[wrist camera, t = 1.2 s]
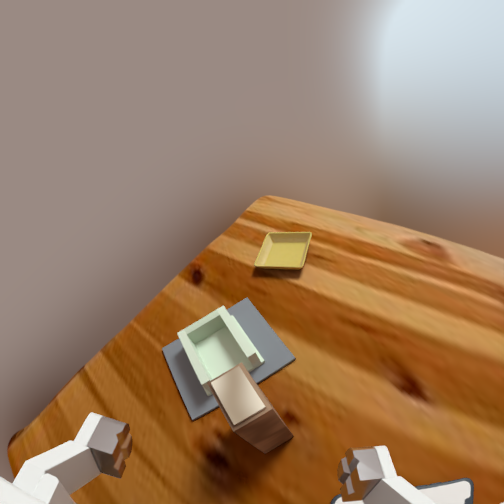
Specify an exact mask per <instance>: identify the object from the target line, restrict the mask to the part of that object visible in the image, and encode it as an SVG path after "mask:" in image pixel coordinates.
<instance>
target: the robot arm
mask: <svg viewBox="0 0 504 504" xmlns="http://www.w3.org/2000/svg"><path fill="white" fill-rule="evenodd" d="M129 431H130V427H129V424H127V423H124V422H120V421H117V420H114V419H111V418H107V417H104V416H102V415H99V414H95V413H92V412H91V413H90V414H89V415H88V416H87V418H86V420H85V422H84V424H83V425H82V427H81V429H80V431H79V432H78V434H77V436H76V438H75V440H74V441H71V440H70V441H68V442H66V443H64V444H62V445H60V446H57V447H55V448H53V449H51V450H49V451H47V452H45V453H43V454H40V455H38V456H36V457H34V458H32V459H29V460H27V461H26V462H25V463H24V465H23V467H22V468H21V470H20V472H19V473H18V475H17V477H16V478H15V480H14V482H13V484H12V483H10V482H8V481H7V480H5V479H4V478H2V477H1V476H0V504H76V503H75V502H74V501H73V499H72V498H71V497H70V494H72V493H73V492H75V491H76V490H78V489H79V488H81V487H82V486H84V485H85V484H87V483H88V482H89V481H91V480H92V479H94V478H95V477H97V476H98V475H99V474H101V473H104V474H107V475H110V476H114V477H117V478H121V477H122V475H123V472H124V470H125V467H126V465H125V461H124V460H125V459H127V458H129V456H130V453H131V450H132V436H131V435H130V434H129ZM345 455H346V457H345V458H343V459H341V461H340V463H339V465H338V480H339V481H340V482H341V483H342V484H343V485H342V487H341V488H340V491H341V497H342V502H350V501H361V500H363V501H362V502H363V503H364V504H436V503H435V502H434V501H432V500H431V499H430V498H428V497H427V496H426V495H424V494H423V493H422V492H420V491H419V490H418V489H416V488H415V487H414V486H412V485H411V484H410V483H409V482H407V481H406V480H405V479H403V478H402V477H401V476H397V474H396V472H395V469H394V466H393V463H392V460H391V457H390V454H389V452H388V449H387V447H386V446H375V447H372V446H371V447H359V448H349V449H348V450H347V451H346V453H345ZM100 472H101V473H100ZM500 504H504V502H503V503H500Z"/></svg>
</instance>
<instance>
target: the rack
mask: <svg viewBox="0 0 504 504" xmlns="http://www.w3.org/2000/svg"><path fill="white" fill-rule="evenodd" d="M177 334H178V336H179V338H180V340H181V343H182V345H183V347H184V349H185V351H186V354H187V356H188V358H189V360H190V362H191V364H192V366H193V368H194V370H195V373H196V375H197V377H198V379H199V381H200V383H201V385H202V386H203V388H204V390H205V392H206V394H207V395H208V396H210V395H212V392H211V390H210V388H209V386H208V384H207V383H208V382H209V381H211V380H213V379H214V378H216V377H218V376H220V375H221V374H223V373H225V372H226V371H228V370H230V369H231V368H233V367H235V366H236V365H238V364H240V363H241V362H242V363H243V365H244V366H245V368H246V369H247V371H248V372H251V371H252V370H254V369H255V368H257V367H259V366H260V365H262V364H263V363H265V360H264V359H263V358H262V356H261V355H260V353H259V352H258V351H257V349H256V348H255V346H254V345H253V343H252V342H251V341H250V339H249V338H248V336H247V335H246V333H245V332H244V331H243V329H242V328H241V326H240V325H239V323H238V322H237V320H236V319H235V317H234V316H233V315H231V316H230V314H229V313H228V311H227V310H226V308H225V307H224V305H223V306H222V307H220V308H218V309H217V310H215V311H213V312H212V313H210V314H208V315H207V316H205V317H203V318H202V319H200V320H198V321H197V322H195V323H193V324H192V325H190V326H188V327H187V328H185V329H183V330H182V331H180V332H178V333H177Z"/></svg>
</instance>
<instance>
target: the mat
mask: <svg viewBox="0 0 504 504" xmlns="http://www.w3.org/2000/svg"><path fill="white" fill-rule="evenodd" d="M227 311H228V313H229V314H230V316H231V315H233V316H234V317H235V319H236V320H237V322H238V323H239V325H240V326H241V328H242V329H243V331H244V332H245V333H246V335H247V336H248V338H249V339H250V341H251V342H252V343H253V345H254V346H255V348H256V349H257V351H258V352H259V353H260V355H261V356H262V358H263V359H264V360H265V363H263V364H262V365H260V366H259V367H257V368H255V369H254V370H252V371H251V372H249V374H250V375H251V376H252V378H253V379H254V381H255V382H256V383H257V384H258V383H260V382H261V381H263V380H265V379H266V378H268V377H269V376H271V375H273V374H274V373H276V372H277V371H279V370H280V369H282V368H283V367H285V366H286V365H288V364H289V363H291V362H292V361H294V360H295V359H296V358H295V357H294V356H293V354H292V353H291V352H290V351H289V349H288V348H287V347H286V346H285V345H284V343H283V342H282V341H281V340H280V338H279V337H278V336H277V335H276V333H275V332H274V331H273V330H272V328H271V327H270V326H269V325H268V323H267V322H266V321H265V319H264V318H263V317H262V316H261V314H260V313H259V312H258V311H257V309H256V308H255V307H254V306H253V304H252V303H251V302H250V300H249V299H248V298H245V299H244V300H242V301H240V302H239V303H237V304H236V305H234V306H232V307H231V308H229V309H227ZM162 350H163V352H164V355H165V357H166V360H167V362H168V365H169V367H170V370H171V372H172V375H173V377H174V380H175V382H176V384H177V387H178V389H179V391H180V394H181V396H182V398H183V401H184V403H185V405H186V407H187V410H188V412H189V414H190V416H191V418H192V420H193V421H194V420H196V419H198V418H199V417H201V416H203V415H205V414H207V413H209V412H210V411H212V410H214V409H216V408H218V407H219V405H218V403H217V401H216V399H215V397H214V395H213V394H212V395H210V396H208V395H207V394H206V392H205V390H204V388H203V386H202V385H201V383H200V381H199V379H198V377H197V375H196V373H195V370H194V368H193V366H192V364H191V362H190V360H189V358H188V356H187V354H186V351H185V349H184V347H183V345H182V343H181V340H180V338H179V339H177V340H175V341H174V342H172V343H170V344H169V345H167V346H165V347H163V348H162Z"/></svg>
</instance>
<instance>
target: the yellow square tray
mask: <svg viewBox="0 0 504 504" xmlns="http://www.w3.org/2000/svg"><path fill="white" fill-rule="evenodd" d="M311 235H312V233H311V232H270V233H268V234H267V235H266V237H265V240H264V242H263V244H262V247H261V249H260V252H259V254H258V256H257V259H256V261H255V263H254V266H256V267H258V268H263V269H292V270H299V269H301V268H302V267H303V265H304V262H305V258H306V254H307V250H308V247H309V243H310V239H311Z"/></svg>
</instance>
